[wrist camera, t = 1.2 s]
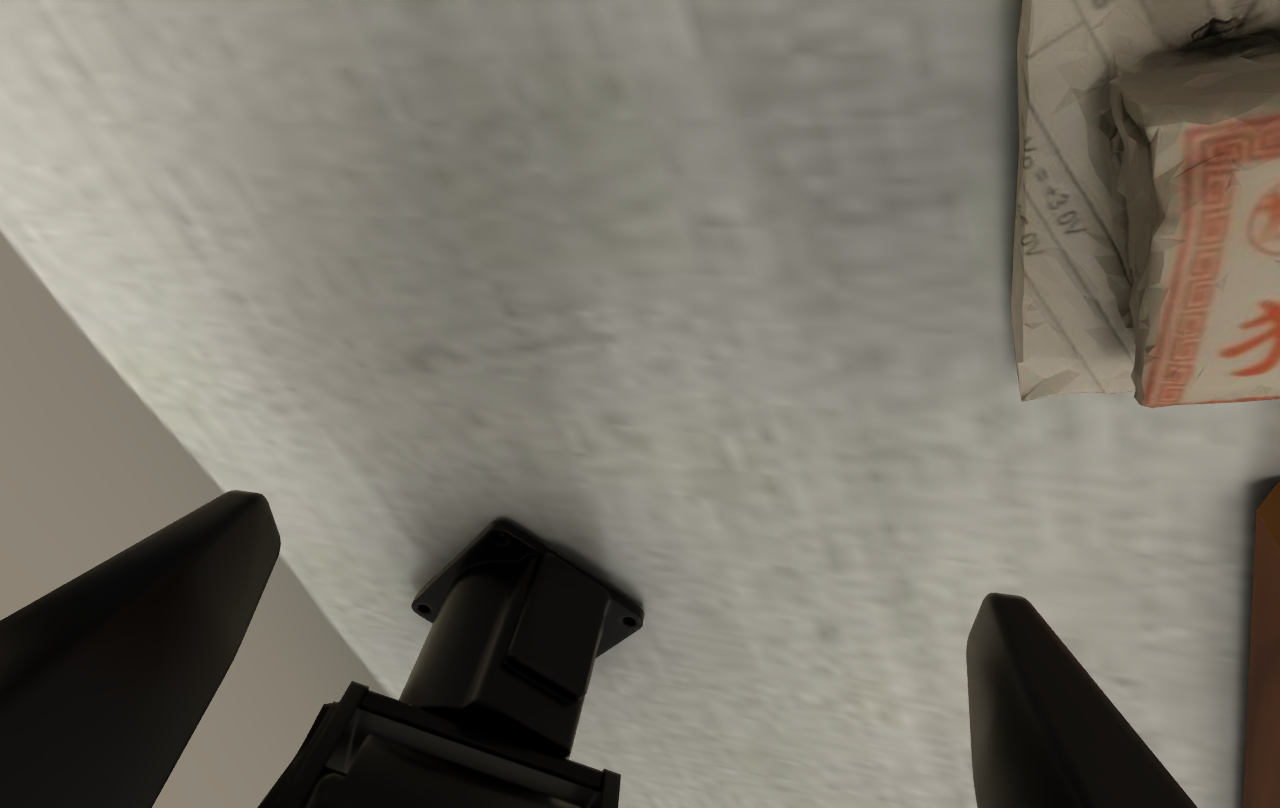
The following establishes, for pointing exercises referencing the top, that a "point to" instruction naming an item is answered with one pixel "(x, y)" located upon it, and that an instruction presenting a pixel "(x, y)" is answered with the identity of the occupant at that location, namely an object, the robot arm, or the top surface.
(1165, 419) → the top surface
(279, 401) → the top surface
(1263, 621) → the diary
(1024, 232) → the packaged product
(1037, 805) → the robot arm
